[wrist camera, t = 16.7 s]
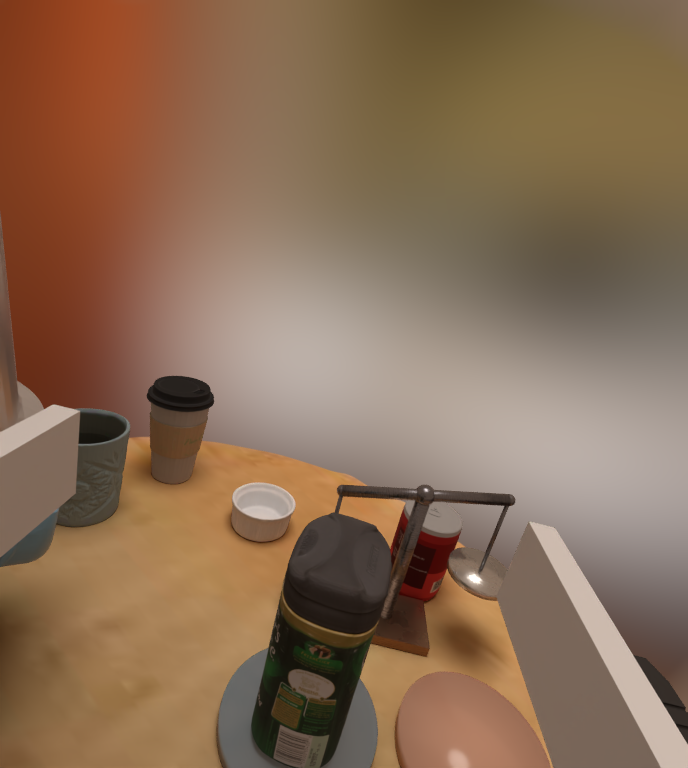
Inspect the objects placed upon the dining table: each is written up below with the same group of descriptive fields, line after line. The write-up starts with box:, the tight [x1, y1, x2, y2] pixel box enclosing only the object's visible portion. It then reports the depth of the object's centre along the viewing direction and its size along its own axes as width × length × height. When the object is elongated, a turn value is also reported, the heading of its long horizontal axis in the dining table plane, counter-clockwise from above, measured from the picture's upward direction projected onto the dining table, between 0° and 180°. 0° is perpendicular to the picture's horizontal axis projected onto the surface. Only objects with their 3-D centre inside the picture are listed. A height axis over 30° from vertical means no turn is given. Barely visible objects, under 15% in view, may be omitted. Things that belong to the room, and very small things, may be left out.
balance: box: [335, 485, 515, 656], centre depth 51 cm, size 24×7×20 cm, turn 87°
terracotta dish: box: [395, 672, 551, 768], centre depth 41 cm, size 14×14×2 cm
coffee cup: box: [147, 376, 214, 484], centre depth 69 cm, size 9×9×15 cm
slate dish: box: [217, 648, 378, 768], centre depth 40 cm, size 14×14×2 cm
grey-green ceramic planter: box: [56, 409, 130, 527], centre depth 58 cm, size 10×10×12 cm
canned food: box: [390, 500, 463, 601], centre depth 60 cm, size 8×8×11 cm
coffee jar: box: [251, 513, 392, 768], centre depth 37 cm, size 10×8×19 cm
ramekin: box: [231, 483, 295, 542], centre depth 65 cm, size 9×9×4 cm
